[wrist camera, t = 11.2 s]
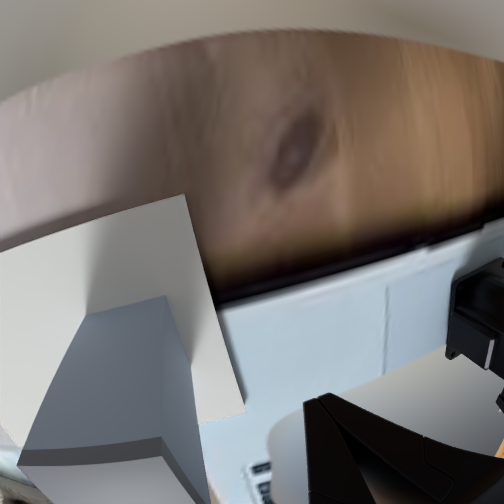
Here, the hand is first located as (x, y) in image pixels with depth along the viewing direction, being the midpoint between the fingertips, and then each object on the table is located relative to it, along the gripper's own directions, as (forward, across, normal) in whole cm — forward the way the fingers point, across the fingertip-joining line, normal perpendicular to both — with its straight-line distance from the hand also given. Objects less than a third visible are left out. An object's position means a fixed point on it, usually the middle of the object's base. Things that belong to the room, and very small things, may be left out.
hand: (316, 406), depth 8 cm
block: (+7, +6, 0) cm, 9 cm away
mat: (+8, +10, 0) cm, 12 cm away
